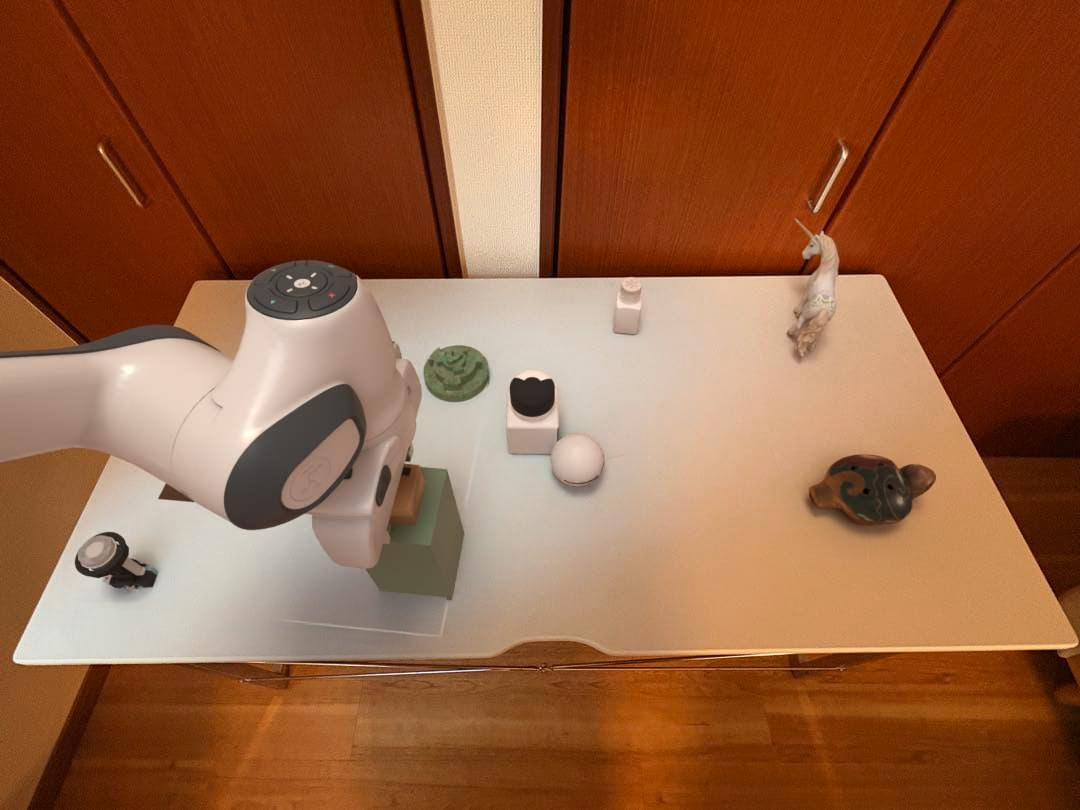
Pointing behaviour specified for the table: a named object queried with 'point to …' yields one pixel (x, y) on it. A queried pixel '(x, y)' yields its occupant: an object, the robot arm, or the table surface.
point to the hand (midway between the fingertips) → (394, 494)
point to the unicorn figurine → (817, 291)
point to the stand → (424, 544)
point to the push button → (113, 562)
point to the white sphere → (577, 459)
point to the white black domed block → (532, 413)
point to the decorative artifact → (456, 373)
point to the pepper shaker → (628, 306)
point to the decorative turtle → (871, 488)
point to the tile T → (408, 496)
